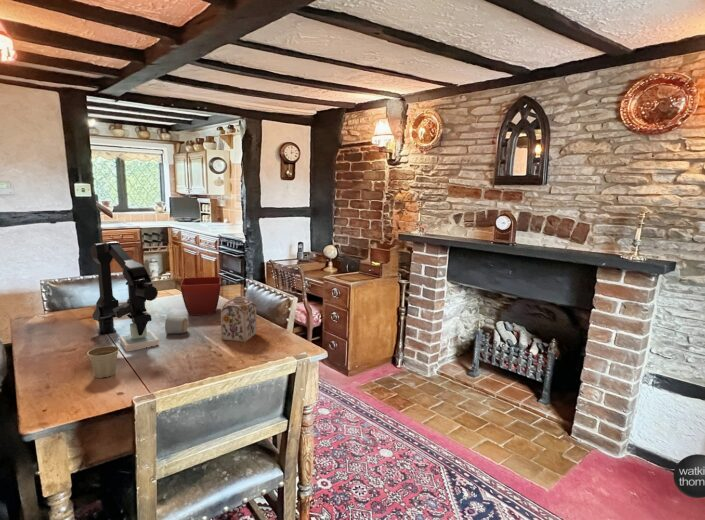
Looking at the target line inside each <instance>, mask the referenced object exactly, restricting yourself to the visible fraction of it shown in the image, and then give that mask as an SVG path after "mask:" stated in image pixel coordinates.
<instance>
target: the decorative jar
mask: <svg viewBox="0 0 705 520" xmlns="http://www.w3.org/2000/svg"><path fill="white" fill-rule="evenodd" d="M257 324H258V323H257V305H256V304H255V302H253V301H252V300H250V299H246V298H245V297H244V296H239V295H238V296H234V297H232V299H230V300H227V301H225V302H224V304H223V306H222V307H221V308H220V337H221V338H220V339H221V340H224V341H233V342H240V343H247V342H248V341H249V340H250V339H252V338H253V337H254V336H255V335H257V332H258V331H257V328H258V325H257Z"/></svg>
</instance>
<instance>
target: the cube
mask: <svg viewBox="0 0 705 520" xmlns="http://www.w3.org/2000/svg"><path fill="white" fill-rule="evenodd" d="M129 328H130V329H129V330H130V331H129V332H130V335H131V336H132V338H133V339H136V338H141V337H147V332H148V330H147V326H146V327H145V329H144V331H143V334H142V335H140V336H139V334H138V331H137V327H136V324H135V323H133V322H131V323H129Z"/></svg>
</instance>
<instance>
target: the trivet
mask: <svg viewBox="0 0 705 520" xmlns="http://www.w3.org/2000/svg"><path fill="white" fill-rule="evenodd" d="M119 343H120V345H121V346H122V348H123V349H124V350H125V352H132V351H135V350H141V349H142V350H143V349H147V348H151V346H153V347H156V345H158V346H160V340H159V338H158V337H157V336H156V335H155V334H154V333H153V332H152V331H150V330H149V331H147V337H141V338H136V339H133V338H132V336H131V334H128V335H123V336H119ZM146 347H147V348H146Z"/></svg>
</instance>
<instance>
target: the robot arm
mask: <svg viewBox="0 0 705 520" xmlns="http://www.w3.org/2000/svg"><path fill="white" fill-rule="evenodd" d="M89 251H90V254H91V258H92V260H93V261H94V262H95V263H96V267H97V279H98V280H97V281H98V289H99V297H98V299H97V301H96V304H95V306H96V308H95V310H94V311H93V313H92V318H93V320H94V321H97V322H98V329H96V330H97V332H98V335H104V334H112V333H116V332H117V330H116V328H115V324H114V323H115V322H114V319H115V318H117V319H121V318H122V317H123V316H127V317H128V318H129V319H130V320H131V323H135V324H136V327H137V331H138V334H139V336H140V335H142V334H143V331H144V329H145V327H146V328H147V325H148V323H149V322H151V321H152V315H151V314H150V313H149V312H147V308H146V302H147V301H148V302H152V301H155V299H157V297H158V295H159V293H158V292H159V291H158V289H157V288H156V287H155V286H154V285H153V283H152V278H151V276H150V275H149V273H148V271H147V269H146V267H145V266H144V265H143V264H141V263H140V262H137V261H135V260H133V259H132V258H131V256H130V255H129V254H128V253H127V252H126V251H125V249H124V248H123V247H122V246H121V243H120V242H119V241H107V242H101V243H100V242H99V243H93V244H92V246H91V247H89ZM113 260H115V261H116V262H117V264H118V265H119V266H120V267H121V269H122V276H124V277H123V278H124V279H125V280H126V281H125V285H126V286H127V292H128V293H127V294H128V298H127V299H126V303H123V304H121V305H119V304H120V303H119V300H118V299H117V298H115V297H114V291H113V283H112V280H113V279H112V271H111V263H112V261H113Z"/></svg>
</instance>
